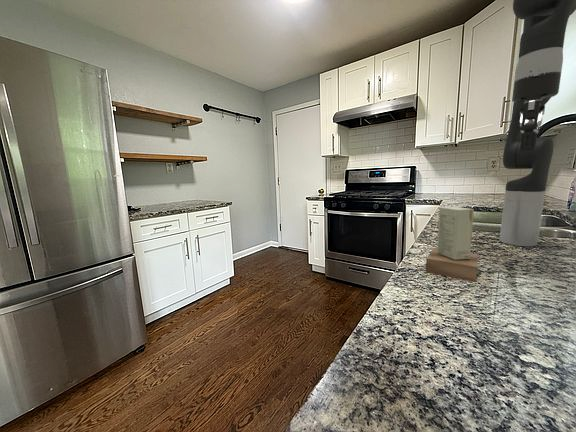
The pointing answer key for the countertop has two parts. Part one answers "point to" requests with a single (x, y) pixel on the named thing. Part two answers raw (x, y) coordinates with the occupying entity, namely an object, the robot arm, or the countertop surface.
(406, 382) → the countertop surface
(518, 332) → the countertop surface
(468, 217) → the skincare box
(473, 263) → the walnut block
